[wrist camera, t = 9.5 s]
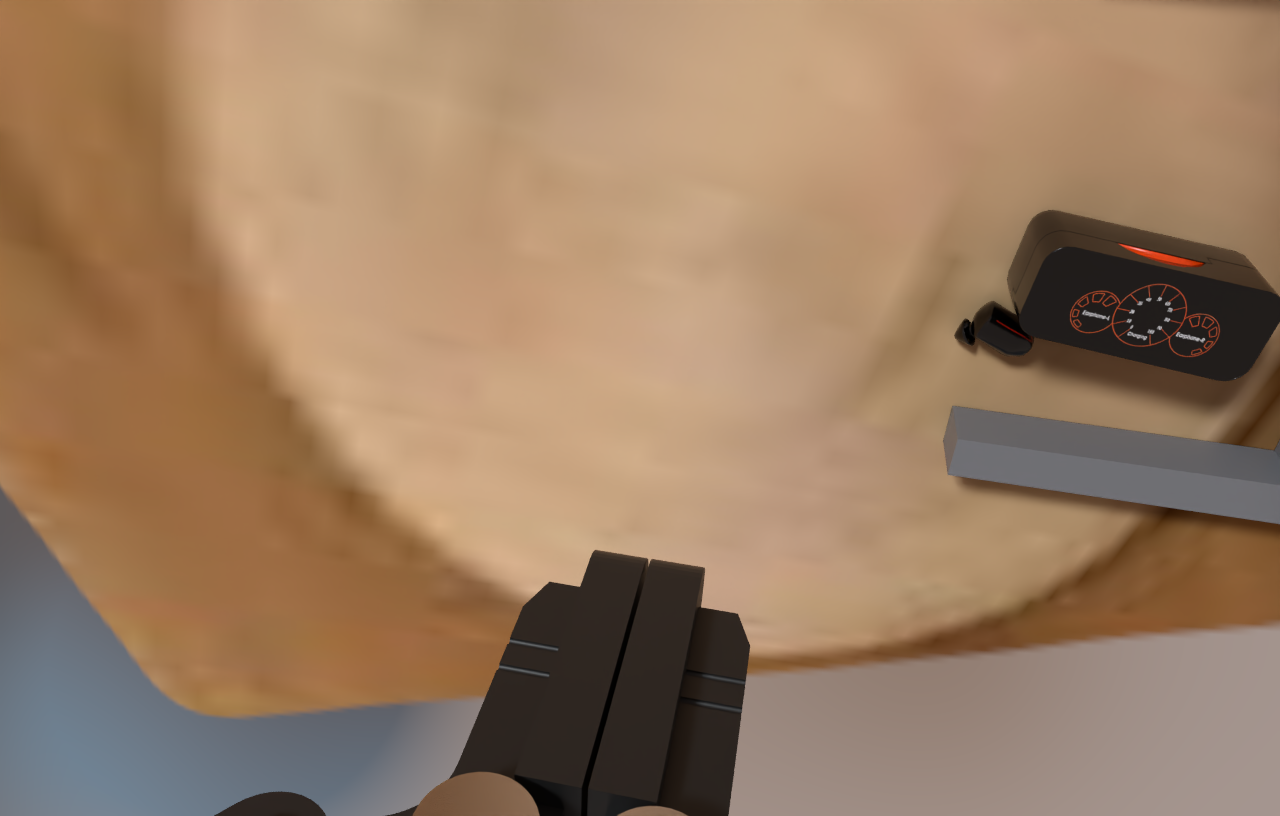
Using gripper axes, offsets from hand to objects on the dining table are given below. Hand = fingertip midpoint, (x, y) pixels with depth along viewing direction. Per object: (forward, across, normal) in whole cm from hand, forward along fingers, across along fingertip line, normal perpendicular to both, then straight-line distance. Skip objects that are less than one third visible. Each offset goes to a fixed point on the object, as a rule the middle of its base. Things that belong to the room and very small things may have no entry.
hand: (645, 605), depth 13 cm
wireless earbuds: (+20, -10, +3) cm, 22 cm away
